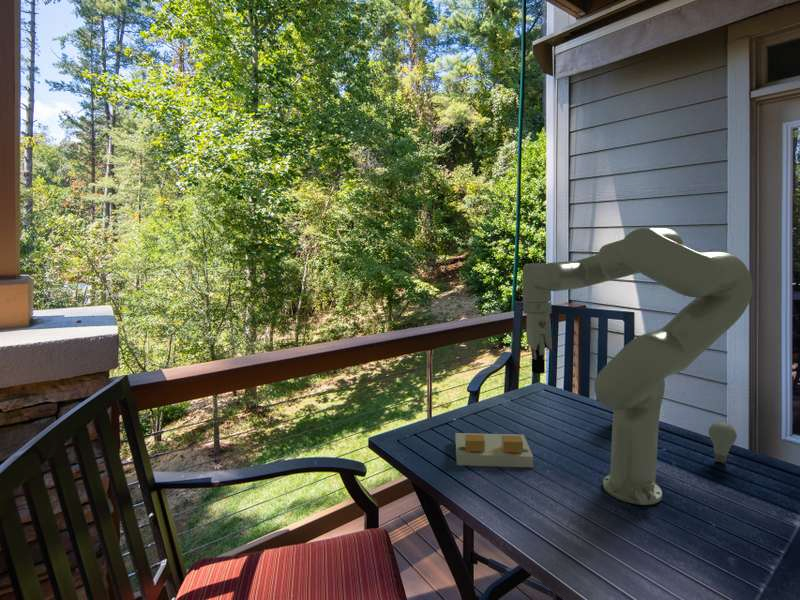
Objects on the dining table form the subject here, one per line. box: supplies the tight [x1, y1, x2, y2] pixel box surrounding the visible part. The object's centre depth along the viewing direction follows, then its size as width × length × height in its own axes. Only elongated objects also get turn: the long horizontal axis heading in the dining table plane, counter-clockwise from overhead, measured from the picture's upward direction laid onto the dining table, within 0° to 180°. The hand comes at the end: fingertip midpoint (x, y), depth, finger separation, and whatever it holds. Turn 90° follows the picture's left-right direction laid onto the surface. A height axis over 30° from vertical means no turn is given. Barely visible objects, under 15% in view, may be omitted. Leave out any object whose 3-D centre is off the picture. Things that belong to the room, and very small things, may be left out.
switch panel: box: [454, 432, 534, 468], centre depth 127 cm, size 14×20×3 cm
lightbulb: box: [707, 421, 738, 464], centre depth 120 cm, size 6×6×11 cm
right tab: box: [502, 435, 523, 453], centre depth 123 cm, size 4×5×3 cm
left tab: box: [465, 434, 485, 452], centre depth 124 cm, size 4×5×3 cm
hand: (538, 372), depth 128 cm, fingers closed
